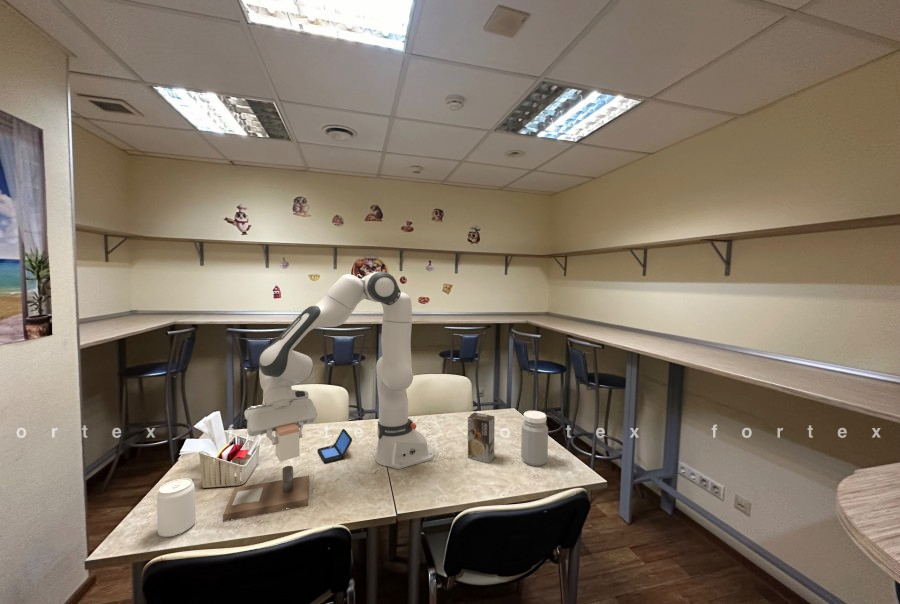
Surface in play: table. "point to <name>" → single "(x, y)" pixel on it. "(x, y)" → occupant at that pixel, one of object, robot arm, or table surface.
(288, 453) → the white tall block
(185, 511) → the white cylinder
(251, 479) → the table surface
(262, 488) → the board
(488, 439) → the coffee box
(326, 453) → the handheld game console
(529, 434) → the jar
